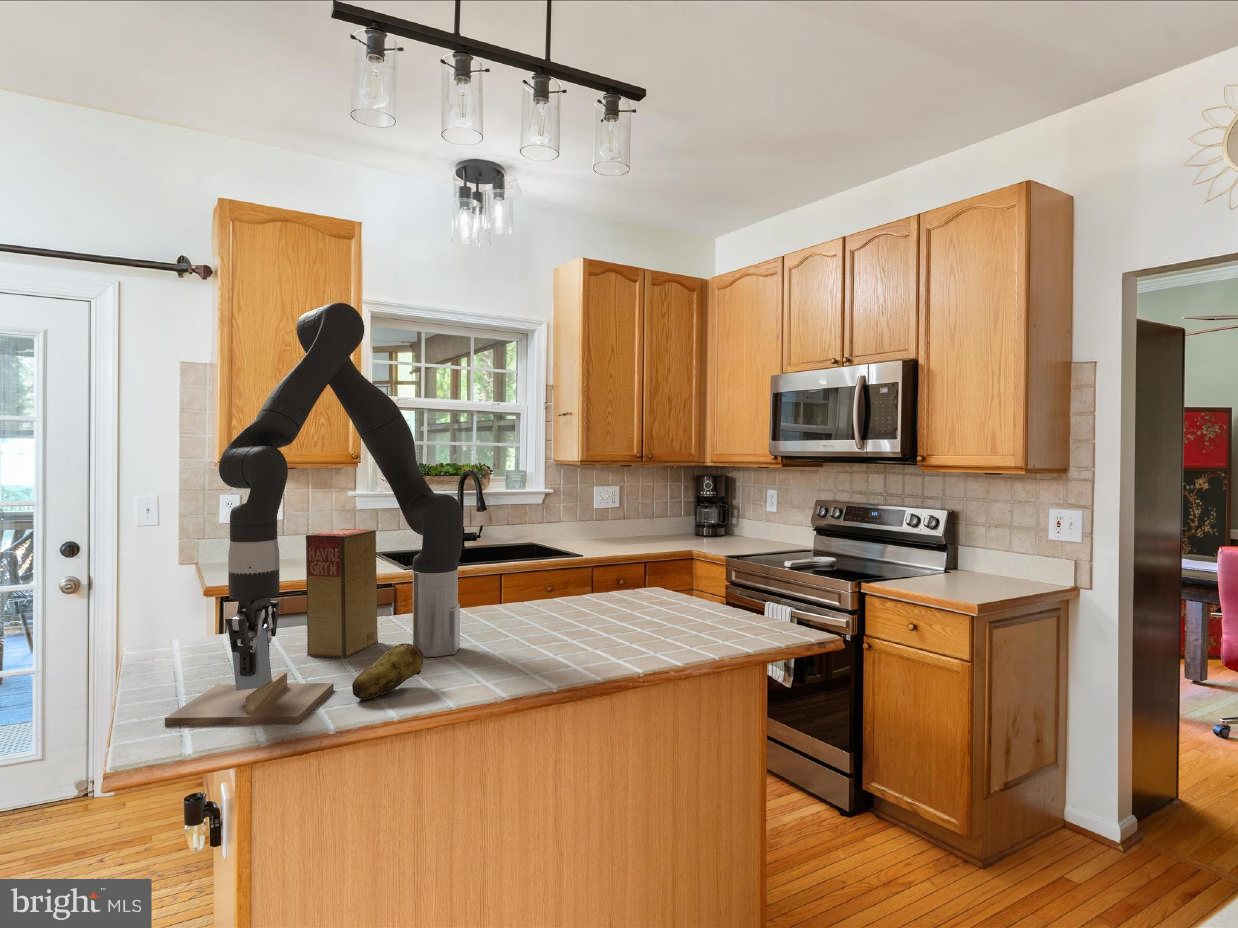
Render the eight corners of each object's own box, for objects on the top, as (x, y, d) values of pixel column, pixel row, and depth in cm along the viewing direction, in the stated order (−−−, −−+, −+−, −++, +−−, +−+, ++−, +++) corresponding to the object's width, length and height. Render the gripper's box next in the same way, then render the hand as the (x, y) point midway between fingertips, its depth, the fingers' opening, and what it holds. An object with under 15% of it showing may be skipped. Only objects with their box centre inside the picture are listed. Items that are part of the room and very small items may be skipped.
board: (333, 689, 128) (333, 668, 128) (297, 723, 112) (297, 699, 112) (217, 691, 128) (217, 670, 127) (164, 725, 112) (164, 701, 111)
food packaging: (341, 639, 163) (341, 527, 162) (380, 641, 161) (379, 528, 160) (304, 655, 150) (303, 534, 149) (345, 658, 148) (345, 535, 147)
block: (271, 679, 122) (265, 625, 122) (261, 687, 118) (255, 631, 118) (247, 682, 122) (241, 628, 122) (236, 690, 118) (229, 634, 118)
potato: (343, 693, 127) (343, 647, 127) (416, 680, 134) (416, 637, 134) (356, 707, 120) (355, 658, 120) (431, 692, 127) (431, 647, 127)
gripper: (258, 574, 113) (258, 684, 113) (294, 560, 127) (295, 658, 127) (208, 575, 112) (209, 685, 113) (250, 560, 127) (251, 658, 127)
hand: (254, 670), depth 120 cm, fingers open, 4 cm apart
